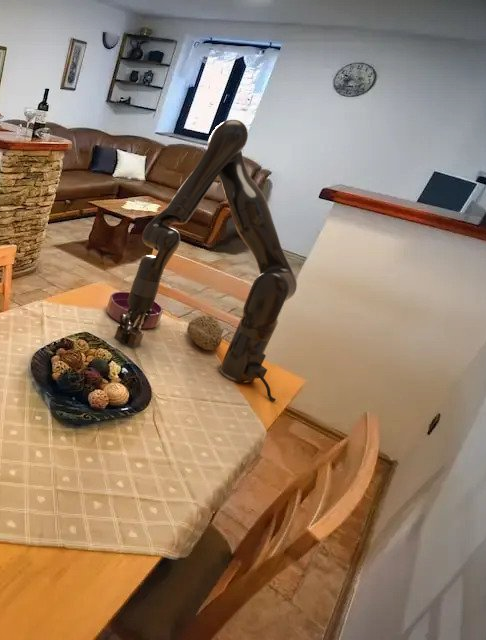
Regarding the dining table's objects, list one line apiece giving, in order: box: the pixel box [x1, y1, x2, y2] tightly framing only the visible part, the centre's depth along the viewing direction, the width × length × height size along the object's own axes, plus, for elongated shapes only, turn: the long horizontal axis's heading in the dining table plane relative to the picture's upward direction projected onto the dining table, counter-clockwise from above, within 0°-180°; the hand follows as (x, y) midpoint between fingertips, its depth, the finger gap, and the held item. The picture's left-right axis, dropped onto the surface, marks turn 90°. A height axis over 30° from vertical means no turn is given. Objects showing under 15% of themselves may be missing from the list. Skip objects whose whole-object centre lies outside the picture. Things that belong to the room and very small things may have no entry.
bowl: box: [106, 291, 164, 329], centre depth 173 cm, size 18×18×6 cm
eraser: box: [114, 324, 144, 349], centre depth 155 cm, size 7×4×4 cm, turn 44°
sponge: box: [186, 314, 225, 351], centre depth 166 cm, size 13×8×20 cm
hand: (127, 340), depth 156 cm, fingers closed on eraser, 4 cm apart
